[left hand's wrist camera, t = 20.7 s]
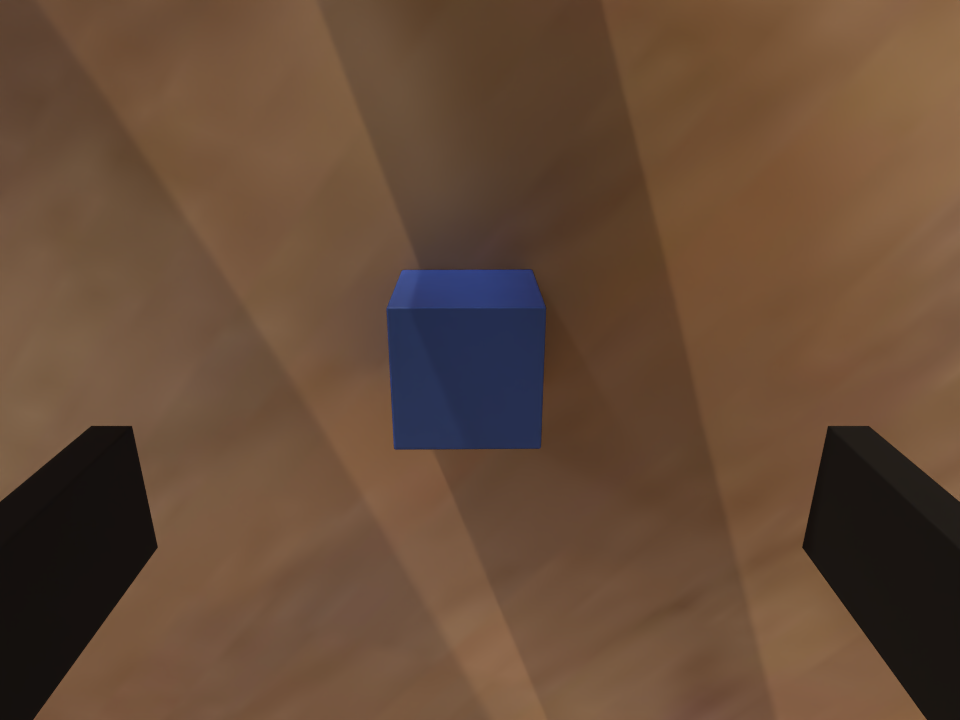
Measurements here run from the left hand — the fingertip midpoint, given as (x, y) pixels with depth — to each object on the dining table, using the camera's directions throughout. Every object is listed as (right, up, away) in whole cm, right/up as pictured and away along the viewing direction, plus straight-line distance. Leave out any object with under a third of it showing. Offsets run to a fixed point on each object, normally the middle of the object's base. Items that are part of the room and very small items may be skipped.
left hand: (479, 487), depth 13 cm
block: (0, +3, +9) cm, 9 cm away
